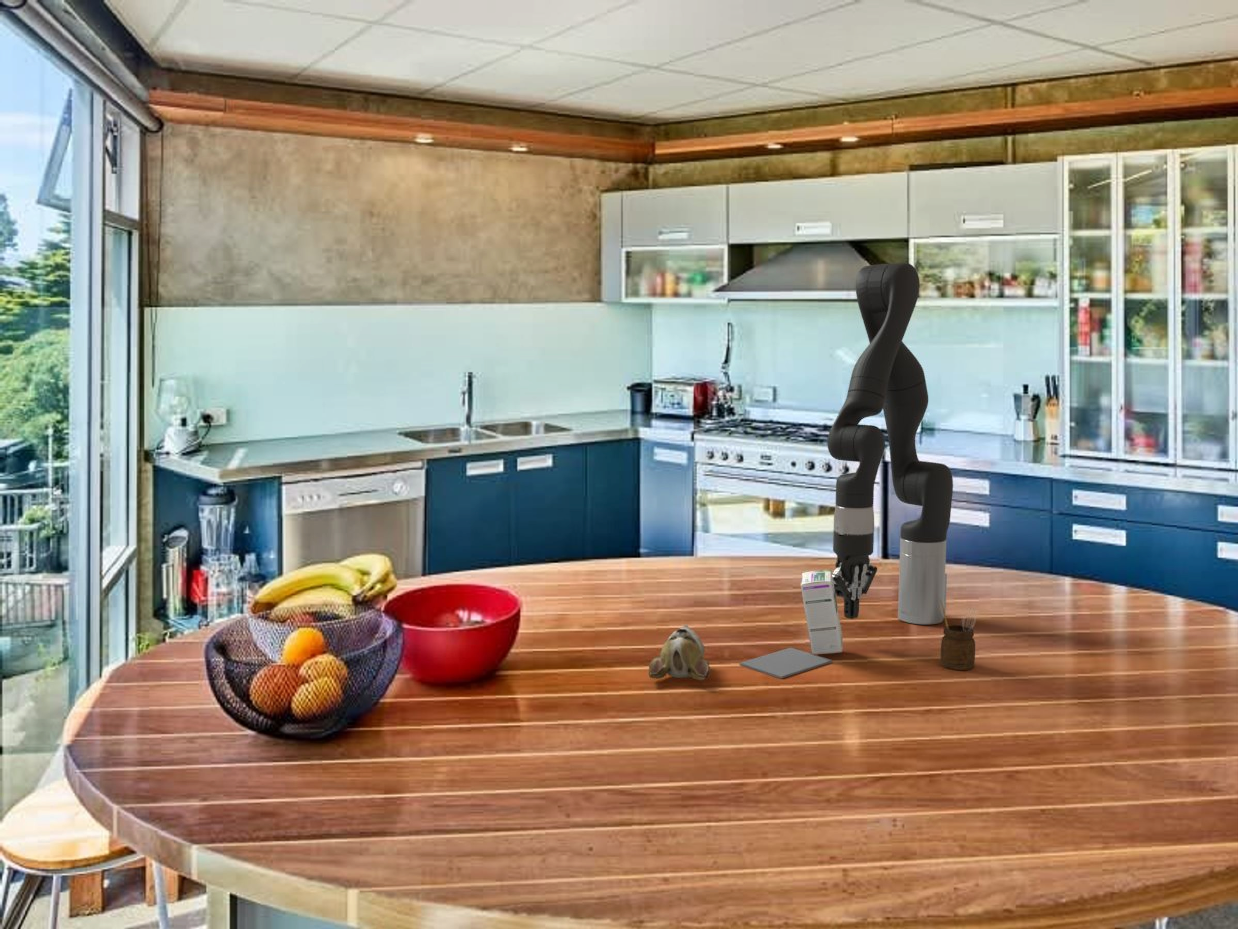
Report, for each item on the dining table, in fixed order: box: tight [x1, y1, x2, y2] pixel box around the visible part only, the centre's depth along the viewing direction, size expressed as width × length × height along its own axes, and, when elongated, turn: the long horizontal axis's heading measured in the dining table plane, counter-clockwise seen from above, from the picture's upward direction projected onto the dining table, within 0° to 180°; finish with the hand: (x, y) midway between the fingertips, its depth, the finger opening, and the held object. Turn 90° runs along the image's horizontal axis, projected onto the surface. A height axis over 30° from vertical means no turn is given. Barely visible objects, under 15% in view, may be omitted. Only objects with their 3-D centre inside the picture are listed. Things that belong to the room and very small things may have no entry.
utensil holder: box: [940, 600, 977, 671], centre depth 194 cm, size 6×6×12 cm
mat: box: [739, 647, 833, 679], centre depth 196 cm, size 14×10×1 cm
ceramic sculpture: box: [648, 623, 711, 682], centre depth 190 cm, size 11×9×15 cm
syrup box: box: [800, 569, 843, 655], centre depth 200 cm, size 6×6×14 cm
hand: (851, 617), depth 206 cm, fingers closed
